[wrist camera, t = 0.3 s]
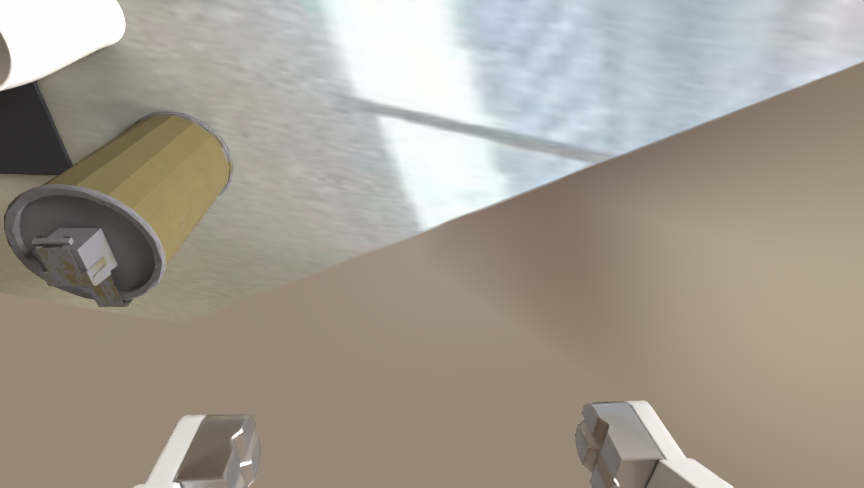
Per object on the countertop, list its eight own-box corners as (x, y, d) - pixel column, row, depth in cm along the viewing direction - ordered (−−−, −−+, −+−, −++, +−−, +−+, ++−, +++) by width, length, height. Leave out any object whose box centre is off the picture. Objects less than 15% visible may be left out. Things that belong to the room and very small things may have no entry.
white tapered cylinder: (94, -47, 35) (-67, -52, 23) (154, 35, 39) (42, 70, 26) (31, -12, 36) (-157, 2, 24) (95, 65, 40) (-39, 112, 27)
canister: (113, 109, 42) (-66, 204, 26) (221, 112, 43) (116, 206, 27) (148, 204, 48) (22, 330, 32) (242, 205, 49) (167, 328, 33)
